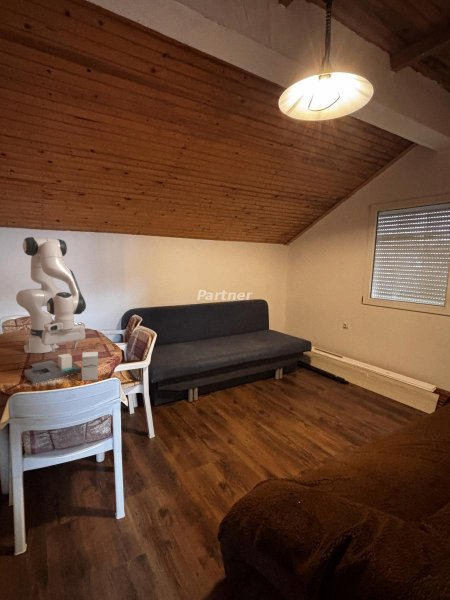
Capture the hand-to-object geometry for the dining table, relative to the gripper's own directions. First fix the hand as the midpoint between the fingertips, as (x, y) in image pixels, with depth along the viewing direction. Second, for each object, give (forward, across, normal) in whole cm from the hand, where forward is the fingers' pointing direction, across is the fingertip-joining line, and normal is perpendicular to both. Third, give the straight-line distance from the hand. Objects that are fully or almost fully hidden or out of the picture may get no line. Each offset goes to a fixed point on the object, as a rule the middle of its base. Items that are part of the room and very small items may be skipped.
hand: (64, 350), depth 155 cm
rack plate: (+12, +6, +1) cm, 13 cm away
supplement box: (+12, -6, +16) cm, 21 cm away
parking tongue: (+12, +6, -13) cm, 19 cm away
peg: (+12, 0, +1) cm, 12 cm away
